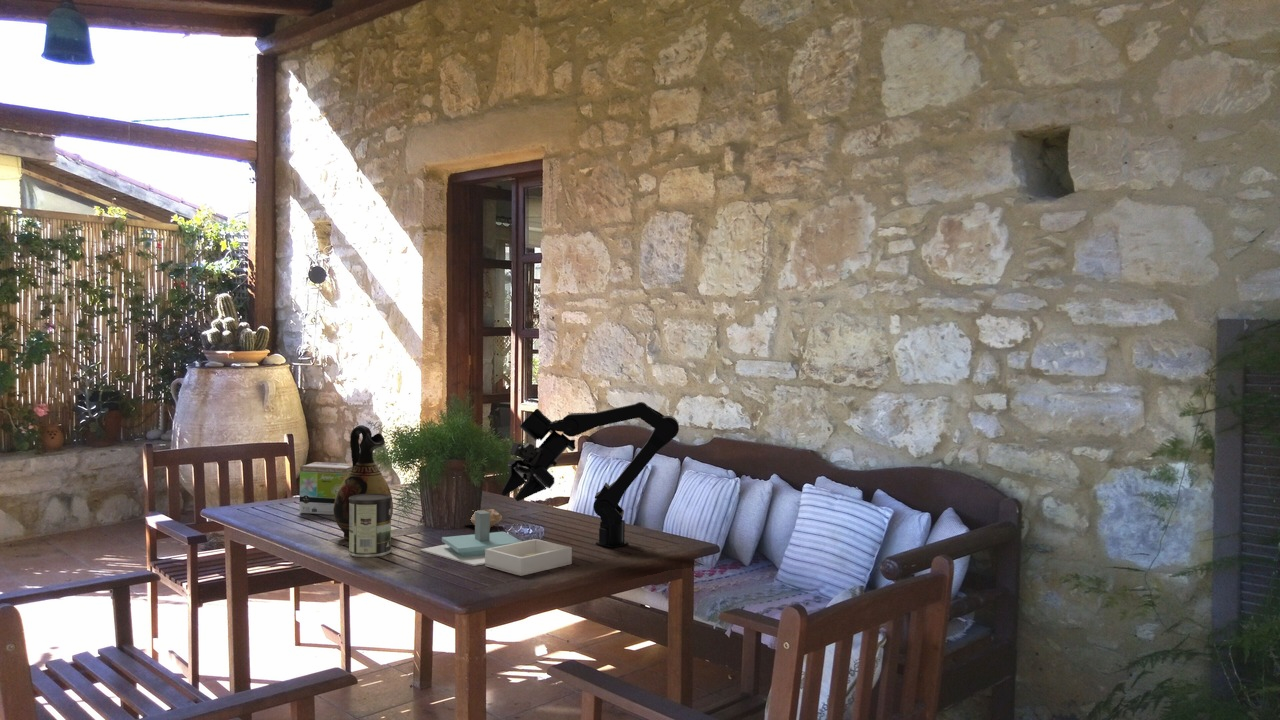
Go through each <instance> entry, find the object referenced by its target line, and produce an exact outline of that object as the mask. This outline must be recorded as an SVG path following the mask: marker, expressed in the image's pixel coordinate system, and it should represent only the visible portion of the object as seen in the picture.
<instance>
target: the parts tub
mask: <svg viewBox="0 0 1280 720" xmlns="http://www.w3.org/2000/svg"><path fill="white" fill-rule="evenodd" d="M572 550H573V549H572V546H568V545H564V544H559V543H554V542H551V541H546V540H542V539H537V538H534V539H533V538H532V539H529V540H523V541H522V542H518V543H513V544H508V545H503V546H498V547H493V548H488V549H485V564H484V567H488V568H490V569H491V568H492V569H495V570H499V571H502V572H506V573H509V574H513V575H516V576H521V577H522V576H526V575H531V574H534V573H540V572H543V571H547V570H552V569H556V568H560V567H565V566H567V565H572V561H573V560H572V559H573V555H572V554H573V552H572Z"/></svg>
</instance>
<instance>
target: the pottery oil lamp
mask: <svg viewBox="0 0 1280 720" xmlns="http://www.w3.org/2000/svg"><path fill="white" fill-rule="evenodd" d="M479 511H486V512H488V513H490V529H492V528H493V526H496V525H497V524H498V523H499V522H501V521H502V519H503V516H502V514H500V513H499V512H498V511H496V510H495V509H493V508H492V509H480V510H479ZM470 520H471V522H472V523H473V524H472V525H473V526H475V512H474V514H473V515H472V517H471V519H470ZM491 527H492V528H491Z"/></svg>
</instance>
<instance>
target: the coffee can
mask: <svg viewBox="0 0 1280 720" xmlns="http://www.w3.org/2000/svg"><path fill="white" fill-rule="evenodd" d="M391 495H392V494H391ZM391 495H388V494H360V495H354V496H351V497H349V540H348V546H349V548H348V555H349V556H352V557H355V558H376V557H382V556H386V555H389V554H390V553H392V518H391V499H392V500H393V495H392V496H391Z"/></svg>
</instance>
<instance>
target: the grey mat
mask: <svg viewBox="0 0 1280 720" xmlns="http://www.w3.org/2000/svg"><path fill="white" fill-rule="evenodd" d="M419 551H420V552H423V553H427V554H431V555H433V556H436V557H441V558H445V559H448V560H450V561H451V560H452V561H455V562H458V563H461V564H465V565H469V566H472V567H477V566H481V565H485V554H483V555H474V556H464V557H462V556H461V555H459V554H458V553H457V552H455V551H454V550H452V549H451V548H450V547H449V546H448V545H446V544H445V543H444V544H441V545H436V546H429V547H425V548H420V549H419Z"/></svg>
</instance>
